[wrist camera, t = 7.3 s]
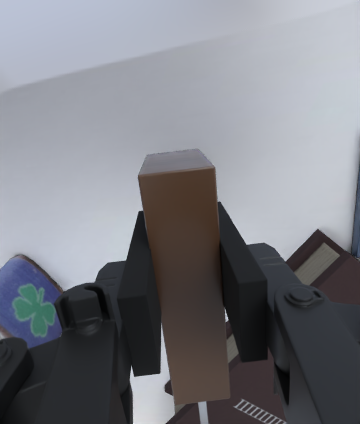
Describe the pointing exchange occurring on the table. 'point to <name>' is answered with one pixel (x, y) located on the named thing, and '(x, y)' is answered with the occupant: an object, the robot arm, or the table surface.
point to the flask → (28, 302)
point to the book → (263, 370)
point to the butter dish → (357, 225)
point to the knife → (188, 272)
